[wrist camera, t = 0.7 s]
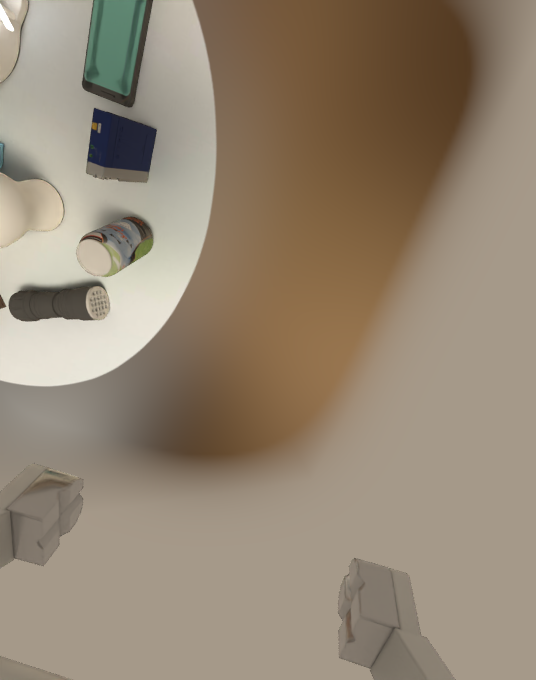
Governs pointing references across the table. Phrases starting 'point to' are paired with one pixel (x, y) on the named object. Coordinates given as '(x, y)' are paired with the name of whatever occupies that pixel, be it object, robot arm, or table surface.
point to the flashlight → (60, 304)
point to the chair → (1, 154)
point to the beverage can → (114, 246)
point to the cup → (27, 208)
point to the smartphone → (116, 48)
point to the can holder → (2, 303)
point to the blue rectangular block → (119, 148)
